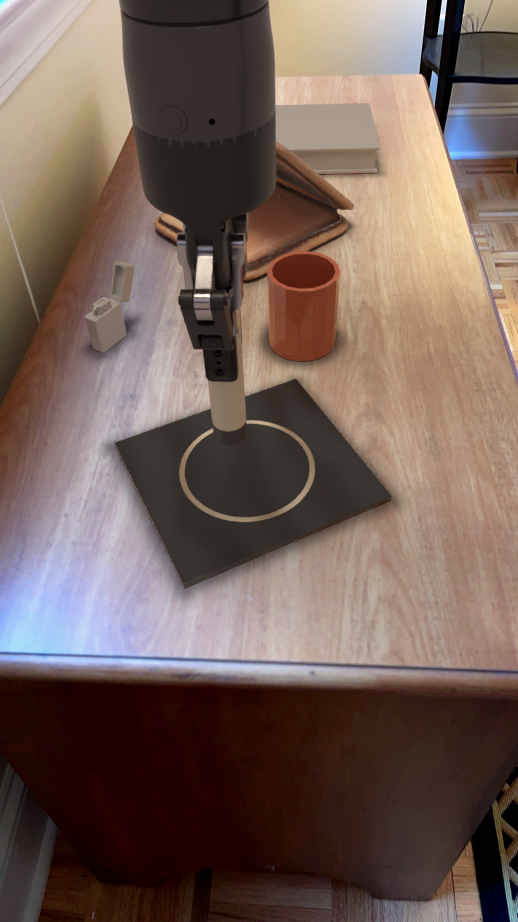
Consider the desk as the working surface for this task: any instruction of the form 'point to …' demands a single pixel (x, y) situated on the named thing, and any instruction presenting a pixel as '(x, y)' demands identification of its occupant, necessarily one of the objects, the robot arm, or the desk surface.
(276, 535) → the black flat square pad
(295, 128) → the book
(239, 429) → the cylinder
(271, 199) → the case
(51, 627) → the desk surface
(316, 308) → the pen cup
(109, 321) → the lighter
